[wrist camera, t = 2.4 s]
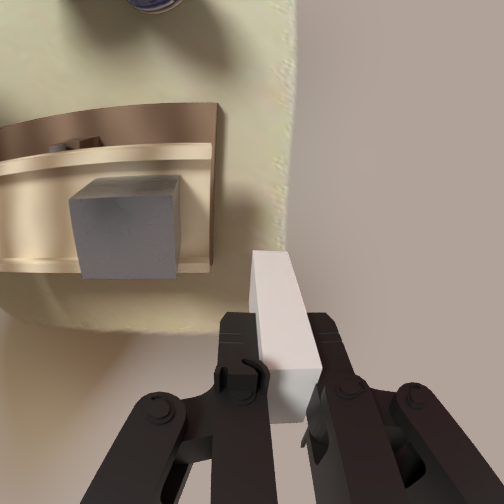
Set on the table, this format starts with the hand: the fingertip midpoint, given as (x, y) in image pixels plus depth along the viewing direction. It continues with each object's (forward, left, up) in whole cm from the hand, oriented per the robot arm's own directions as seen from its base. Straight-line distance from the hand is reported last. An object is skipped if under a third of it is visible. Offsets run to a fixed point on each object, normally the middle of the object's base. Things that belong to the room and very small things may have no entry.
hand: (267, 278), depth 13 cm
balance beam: (-15, 0, -9) cm, 18 cm away
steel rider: (-8, 0, -8) cm, 12 cm away
